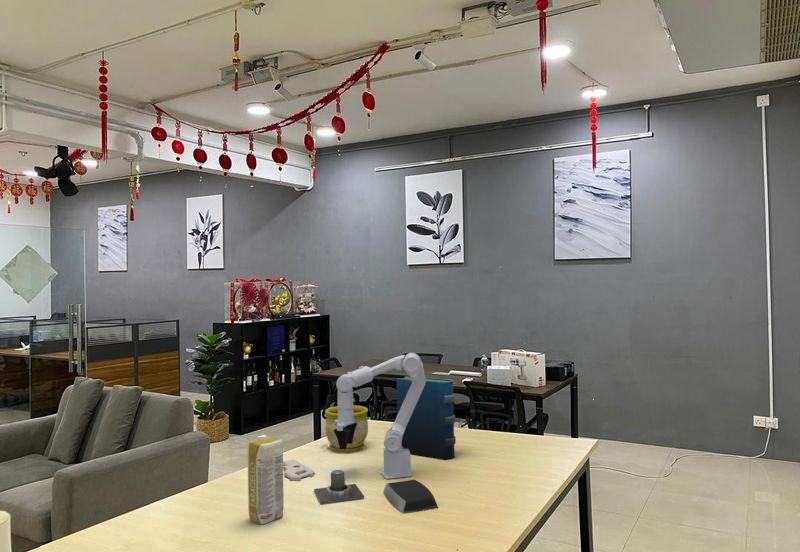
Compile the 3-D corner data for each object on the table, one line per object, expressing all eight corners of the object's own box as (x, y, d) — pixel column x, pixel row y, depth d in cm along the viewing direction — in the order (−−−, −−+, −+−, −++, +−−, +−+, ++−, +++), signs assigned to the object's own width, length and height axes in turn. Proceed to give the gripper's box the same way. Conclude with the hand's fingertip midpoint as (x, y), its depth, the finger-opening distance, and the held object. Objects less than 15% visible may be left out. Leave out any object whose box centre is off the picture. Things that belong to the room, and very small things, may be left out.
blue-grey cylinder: (334, 489, 190) (333, 469, 190) (346, 490, 189) (346, 470, 189) (328, 494, 186) (328, 473, 186) (341, 495, 185) (341, 474, 185)
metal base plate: (355, 486, 195) (355, 479, 195) (364, 498, 184) (364, 490, 184) (314, 491, 191) (313, 484, 191) (320, 504, 179) (320, 496, 179)
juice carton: (270, 510, 175) (269, 431, 176) (287, 516, 170) (286, 435, 171) (244, 520, 168) (243, 437, 169) (261, 527, 163) (260, 441, 164)
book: (460, 455, 230) (458, 379, 230) (450, 461, 222) (448, 382, 223) (408, 447, 242) (407, 375, 243) (397, 452, 235) (396, 378, 236)
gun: (272, 460, 215) (296, 456, 221) (272, 470, 215) (296, 465, 221) (294, 475, 201) (319, 470, 207) (293, 485, 201) (319, 479, 207)
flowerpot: (316, 450, 240) (316, 411, 240) (344, 440, 255) (344, 403, 255) (349, 457, 230) (349, 415, 230) (377, 446, 245) (376, 407, 245)
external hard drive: (400, 516, 171) (399, 502, 171) (381, 494, 189) (380, 481, 189) (440, 509, 175) (440, 496, 175) (418, 489, 193) (417, 476, 193)
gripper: (341, 404, 216) (341, 440, 216) (328, 412, 202) (329, 451, 201) (359, 404, 214) (359, 441, 214) (347, 412, 200) (348, 452, 200)
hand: (346, 446), depth 208 cm, fingers open, 7 cm apart
